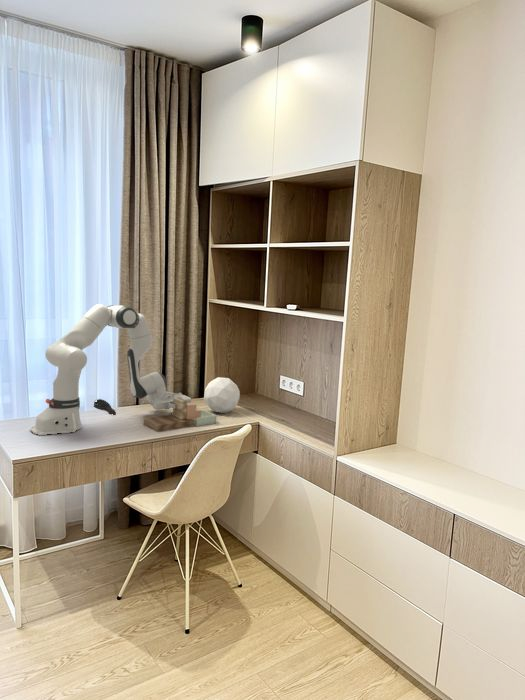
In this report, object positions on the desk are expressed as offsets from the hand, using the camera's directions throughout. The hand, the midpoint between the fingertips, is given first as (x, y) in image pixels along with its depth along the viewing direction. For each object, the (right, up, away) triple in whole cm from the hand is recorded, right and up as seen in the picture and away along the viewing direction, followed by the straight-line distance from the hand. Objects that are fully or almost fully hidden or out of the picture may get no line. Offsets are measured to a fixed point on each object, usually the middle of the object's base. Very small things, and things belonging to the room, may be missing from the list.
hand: (179, 406), depth 266 cm
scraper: (0, -5, +1) cm, 5 cm away
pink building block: (+5, -6, +1) cm, 8 cm away
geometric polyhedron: (+19, -6, +27) cm, 33 cm away
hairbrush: (-42, -4, +21) cm, 47 cm away
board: (-5, -9, -3) cm, 11 cm away
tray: (+8, -8, +8) cm, 13 cm away
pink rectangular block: (+3, -5, +5) cm, 8 cm away
